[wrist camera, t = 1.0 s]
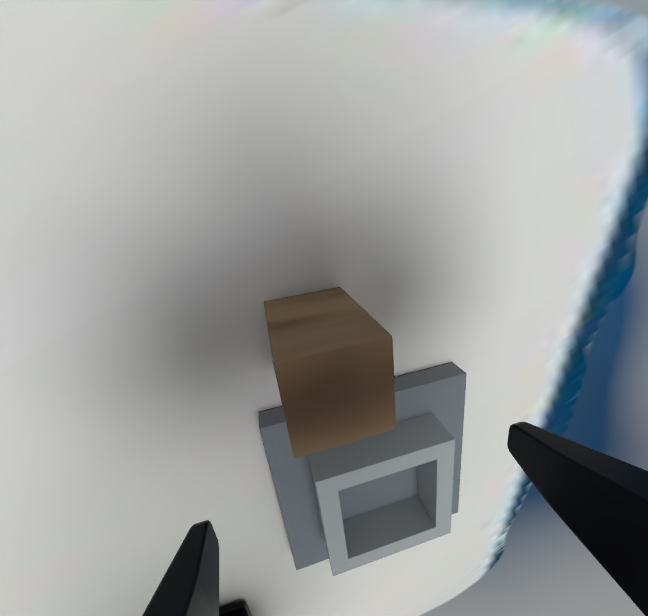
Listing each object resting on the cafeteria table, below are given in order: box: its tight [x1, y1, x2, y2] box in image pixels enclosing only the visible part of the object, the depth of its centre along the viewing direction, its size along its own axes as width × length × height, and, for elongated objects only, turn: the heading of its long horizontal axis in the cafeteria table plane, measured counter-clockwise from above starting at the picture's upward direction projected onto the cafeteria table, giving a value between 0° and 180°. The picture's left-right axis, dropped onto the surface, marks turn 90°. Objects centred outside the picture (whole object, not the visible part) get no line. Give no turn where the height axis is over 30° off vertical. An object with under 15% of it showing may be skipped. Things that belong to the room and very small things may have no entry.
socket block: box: [259, 362, 466, 576], centre depth 21 cm, size 14×14×4 cm
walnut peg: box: [264, 287, 396, 458], centre depth 15 cm, size 4×4×7 cm
